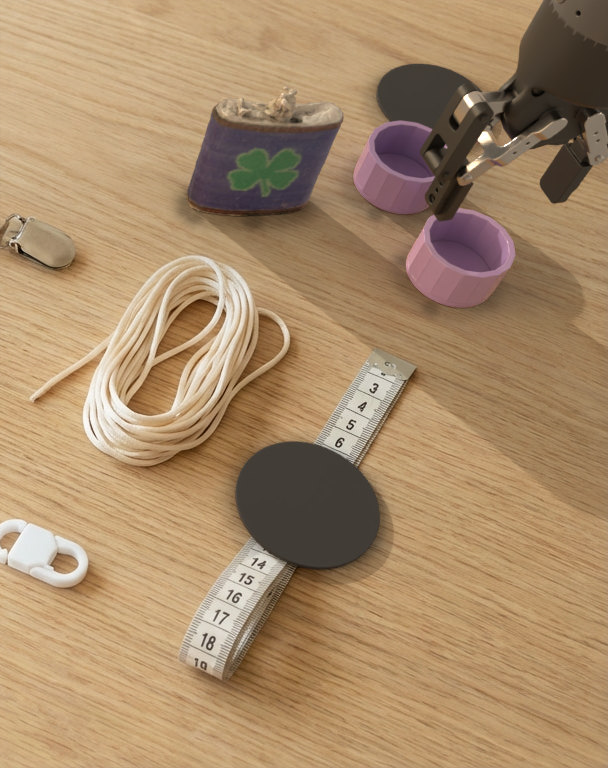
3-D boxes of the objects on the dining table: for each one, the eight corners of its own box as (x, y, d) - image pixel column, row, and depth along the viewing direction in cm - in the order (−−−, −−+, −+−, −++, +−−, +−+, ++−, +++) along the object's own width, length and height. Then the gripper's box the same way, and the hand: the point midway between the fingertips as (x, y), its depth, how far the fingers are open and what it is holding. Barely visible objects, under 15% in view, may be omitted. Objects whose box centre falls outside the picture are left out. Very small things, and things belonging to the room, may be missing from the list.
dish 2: (467, 234, 90) (488, 202, 87) (509, 300, 87) (532, 269, 84) (390, 247, 89) (408, 215, 86) (429, 314, 86) (449, 283, 83)
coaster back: (456, 60, 101) (458, 57, 101) (509, 135, 96) (511, 133, 96) (357, 73, 100) (359, 70, 100) (406, 151, 95) (408, 148, 95)
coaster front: (341, 432, 80) (343, 430, 80) (402, 554, 75) (404, 551, 75) (214, 457, 78) (215, 454, 78) (267, 582, 74) (269, 580, 73)
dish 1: (413, 148, 95) (430, 115, 92) (450, 207, 92) (470, 175, 89) (339, 160, 94) (354, 126, 91) (374, 220, 91) (391, 187, 88)
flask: (303, 188, 92) (350, 80, 83) (311, 217, 91) (359, 110, 82) (182, 186, 92) (216, 77, 83) (187, 216, 90) (223, 108, 81)
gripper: (543, 63, 65) (424, 261, 78) (770, 32, 67) (617, 229, 81) (476, -25, 69) (373, 177, 82) (692, -51, 72) (558, 149, 85)
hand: (494, 202), depth 82 cm, fingers open, 8 cm apart
